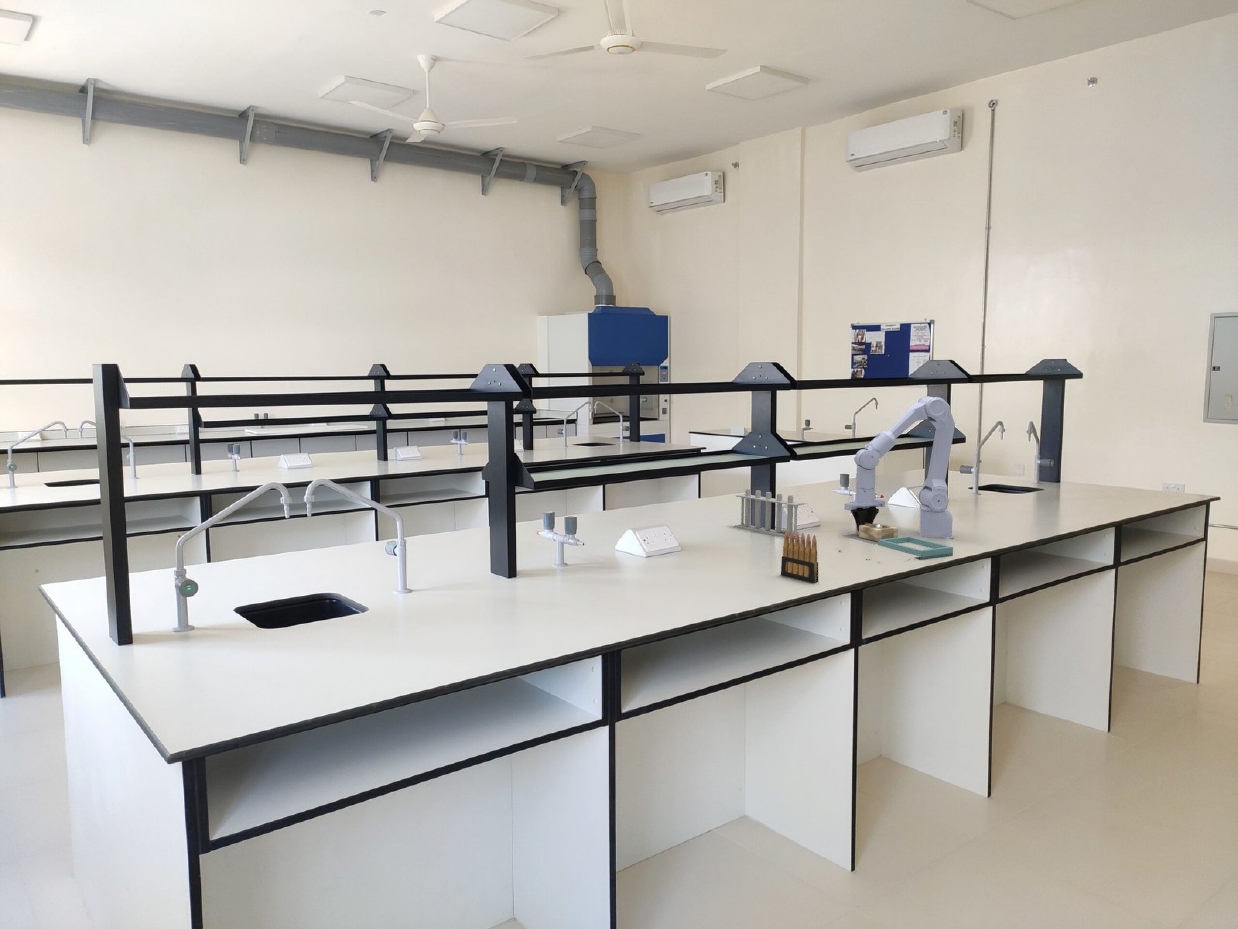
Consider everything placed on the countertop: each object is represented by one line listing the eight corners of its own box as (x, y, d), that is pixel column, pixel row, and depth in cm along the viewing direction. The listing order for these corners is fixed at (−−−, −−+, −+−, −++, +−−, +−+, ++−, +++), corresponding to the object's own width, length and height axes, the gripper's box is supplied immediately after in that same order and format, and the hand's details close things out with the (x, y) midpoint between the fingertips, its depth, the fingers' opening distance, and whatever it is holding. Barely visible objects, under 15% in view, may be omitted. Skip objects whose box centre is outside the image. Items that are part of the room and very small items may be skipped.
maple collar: (897, 539, 256) (898, 528, 256) (877, 541, 253) (877, 530, 252) (868, 531, 267) (869, 520, 267) (848, 533, 264) (849, 522, 263)
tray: (908, 544, 255) (908, 536, 254) (952, 555, 240) (953, 547, 239) (877, 548, 250) (878, 539, 249) (921, 560, 234) (921, 551, 234)
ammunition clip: (780, 575, 218) (781, 529, 217) (785, 574, 219) (786, 528, 218) (813, 583, 210) (815, 536, 208) (818, 582, 211) (819, 535, 210)
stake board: (907, 543, 256) (907, 526, 255) (874, 547, 250) (874, 529, 250) (874, 535, 268) (875, 518, 268) (842, 538, 263) (843, 521, 262)
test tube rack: (803, 537, 265) (804, 496, 264) (794, 539, 262) (795, 497, 261) (743, 526, 284) (744, 487, 283) (734, 527, 281) (735, 488, 280)
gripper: (874, 484, 268) (872, 527, 270) (838, 487, 262) (837, 530, 264) (890, 487, 262) (888, 530, 264) (853, 490, 256) (852, 535, 258)
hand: (864, 531), depth 263 cm, fingers closed on maple collar, 2 cm apart
